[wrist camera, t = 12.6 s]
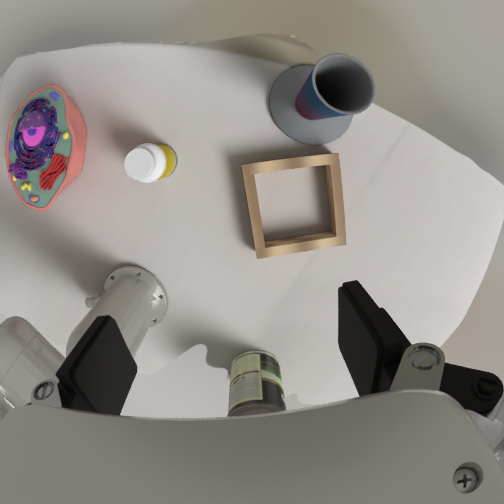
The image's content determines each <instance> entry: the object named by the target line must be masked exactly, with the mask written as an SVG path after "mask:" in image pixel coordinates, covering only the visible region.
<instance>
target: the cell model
mask: <svg viewBox="0 0 504 504" xmlns="http://www.w3.org/2000/svg"><path fill="white" fill-rule="evenodd" d="M86 141H87V127H86V124H85V121H84V119H83V117H82V115H81V113H80V110H79V109H78V107H77V106H76V104H75V103H74V102H73V100H72V99H71V98H70V97H69V96H68V95H67V94H66V93H65V91H64V90H63V89H62V88H60V87H59V86H57V85H54V84H50V85H47V86H44V87H42V88H40V89H38V90H36V91H34V92H32V93H31V94H30V95H29V96H28V97H27V98H26V99H25V100H24V102H23V103H22V105H21V106H20V107H19V108H18V109H17V111H16V112H15V113H14V115H13V117H12V119H11V122H10V125H9V129H8V134H7V141H6V147H5V158H6V166H7V171H8V175H9V178H10V181H11V184H12V186H13V188H14V190H15V191H16V193H17V195H18V197H19V199H20V200H21V202H22V203H23V204H24V205H25V206H27V207H29V208H32V209H35V210H38V211H45V210H47V209H49V207H50V206H51V205H52V204H53V202H54V201H55V200H56V198H57V197H58V196H59V195H60V194H61V193H62V192H63V191H64V190H65V189H66V188H67V187H68V186H69V185H70V184H72V183H73V182H74V181H75V179H76V178H77V176H78V175H79V174H80V172H81V171H82V168H83V165H84V160H85V150H86Z"/></svg>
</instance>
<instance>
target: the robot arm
mask: <svg viewBox="0 0 504 504" xmlns="http://www.w3.org/2000/svg"><path fill="white" fill-rule="evenodd" d="M139 272H140V273H139ZM85 304H86V306H87V307H88V308H92V309H91V310H90V311H89V312H88V314H87V315H86V316H85V317H84V318H83V320H82V321H81V322H80V323H79V324H78V326H77V327H76V328H75V329H74V331H73V332H72V333H71V335H70V337H69V340H68V343H67V348H66V358H65V357H64V356H63V355H62V354H60V352H58V351H57V350H56V349H55V348H54V347H53V346H52V345H51V344H50V343H49V342H48V341H47V340H46V339H45V338H44V337H43V336H42V335H41V334H40V333H39V332H38V331H37V330H36V329H35V328H34V327H33V326H32V325H31V324H30V323H29V322H28V321H27V320H25V319H24V318H22V317H19V316H13V317H10V318H8V319H6V320H5V321H4V322H2V323H1V324H0V504H504V389H503V384H502V381H501V380H500V379H499V378H498V377H497V376H496V375H494V374H492V373H489V372H485V371H480V370H476V369H471V368H466V367H462V366H457V365H453V364H449V363H445V356H444V353H443V351H442V350H441V349H440V348H439V347H437V346H435V345H433V344H430V343H416V344H413V345H412V344H411V343H410V342H409V340H408V339H407V338H406V336H405V335H404V334H403V332H402V331H401V330H400V328H399V327H398V326H397V325H396V323H395V322H394V321H393V319H392V318H391V317H390V315H389V314H388V313H387V312H386V310H385V309H384V308H379V307H378V306H377V304H376V303H375V302H374V301H373V299H372V298H371V297H370V295H369V294H368V293H367V292H366V290H365V289H364V288H363V287H362V285H361V284H360V283H359V282H358V281H357V280H355V281H350V282H345V283H343V285H342V287H339V289H338V344H339V348H340V351H341V353H342V356H343V358H344V360H345V363H346V365H347V367H348V370H349V372H350V374H351V377H352V379H353V382H354V384H355V386H356V389H357V391H358V394H359V396H360V397H356V398H351V399H346V400H342V401H337V402H332V403H327V404H322V405H317V406H312V407H306V408H300V409H293V410H287V411H280V412H273V413H265V414H256V415H245V416H233V417H216V418H148V417H132V416H121V415H120V413H121V410H122V408H123V405H124V403H125V400H126V398H127V395H128V393H129V390H130V388H131V385H132V383H133V380H134V378H135V375H136V373H137V365H136V363H135V361H134V358H135V356H136V353H137V351H138V349H139V347H140V345H141V343H142V341H143V339H144V337H145V335H146V333H147V330H148V328H149V327H152V326H155V325H156V324H158V323H159V322H160V321H161V320H162V319H163V317H164V315H165V313H166V310H167V305H168V302H167V296H166V292H165V290H164V288H163V286H162V285H161V283H160V282H159V280H158V279H157V278H156V277H155V276H154V275H152V274H151V273H150V272H148V271H146V270H144V269H142V268H139V267H136V266H123V267H119V268H117V269H116V270H114V271H113V272H112V273H111V274H110V275H109V276H108V277H107V279H106V281H105V285H104V293H103V294H102V295H99V296H98V297H90V298H86V300H85ZM4 397H5V398H6V399H7V400H8V401H9V402H10V403H12V405H13V406H15V407H16V408H14V409H13V408H12V407H11V406H10V405H9V404H8V403H7V402H6V401H5V399H4Z"/></svg>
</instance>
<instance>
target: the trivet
mask: <svg viewBox="0 0 504 504" xmlns="http://www.w3.org/2000/svg"><path fill="white" fill-rule="evenodd" d="M313 68H314V66H313V65H302V66H297V67H294V68H291V69H289V70H287V71H286V72H284V73H283V74H282V75H281V76H280V77H279V78H278V79H277V80H276V82H275V83H274V85H273V87H272V90H271V93H270V101H269V103H270V110H271V114H272V117H273V119H274V121H275V123H276V124H277V125H278V127H279V128H280V129H281V130H282V131H283V132H284V133H285V134H286V135H287V136H289V137H290V138H292V139H294V140H296V141H298V142H301V143H304V144H309V145H321V144H326V143H330V142H332V141H334V140H336V139H338V138H339V137H340V136H342V135H343V134H344V133H345V131H346V130H347V129H348V127H349V125H350V123H351V121H352V117H353V115H346V116H338V117H332V118H325V119H319V120H308V119H305V118H303V117H302V116H301V115H300V114H299V113H298V111H297V110H296V106H295V100H296V97H297V95H298V94H299V92H300V90H301V88H302V87H303V85H304V83H305V81H306V80H307V78H308V76H309V75H310V73H311V71H312V69H313Z"/></svg>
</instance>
